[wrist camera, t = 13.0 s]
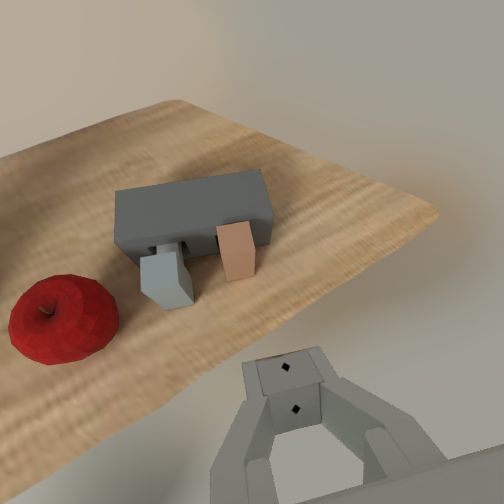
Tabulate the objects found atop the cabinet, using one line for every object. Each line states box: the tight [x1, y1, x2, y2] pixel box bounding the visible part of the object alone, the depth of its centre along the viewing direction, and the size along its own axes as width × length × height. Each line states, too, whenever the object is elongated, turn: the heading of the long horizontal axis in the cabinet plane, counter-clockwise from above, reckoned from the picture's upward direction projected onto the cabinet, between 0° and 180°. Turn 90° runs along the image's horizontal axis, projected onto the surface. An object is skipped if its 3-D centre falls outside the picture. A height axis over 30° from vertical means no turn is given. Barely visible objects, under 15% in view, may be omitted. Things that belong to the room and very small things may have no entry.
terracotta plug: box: [216, 221, 255, 282], centre depth 35 cm, size 4×10×9 cm, turn 12°
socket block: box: [114, 169, 274, 267], centre depth 37 cm, size 20×8×8 cm, turn 102°
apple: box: [8, 274, 119, 365], centre depth 29 cm, size 10×10×11 cm
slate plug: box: [140, 242, 195, 310], centre depth 34 cm, size 4×10×9 cm, turn 12°
